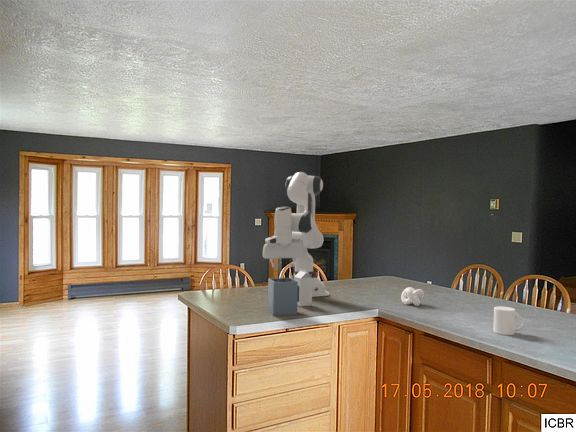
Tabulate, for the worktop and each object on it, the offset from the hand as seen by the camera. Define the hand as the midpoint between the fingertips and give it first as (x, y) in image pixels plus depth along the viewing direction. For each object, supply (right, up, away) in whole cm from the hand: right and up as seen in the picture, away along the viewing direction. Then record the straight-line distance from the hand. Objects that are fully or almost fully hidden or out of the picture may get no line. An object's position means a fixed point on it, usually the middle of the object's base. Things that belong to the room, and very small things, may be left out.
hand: (283, 267), depth 220 cm
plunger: (0, -19, 0) cm, 19 cm away
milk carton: (+10, -23, +18) cm, 30 cm away
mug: (+96, -25, -32) cm, 104 cm away
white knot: (+71, -23, +23) cm, 78 cm away
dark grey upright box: (+1, -22, +1) cm, 22 cm away
